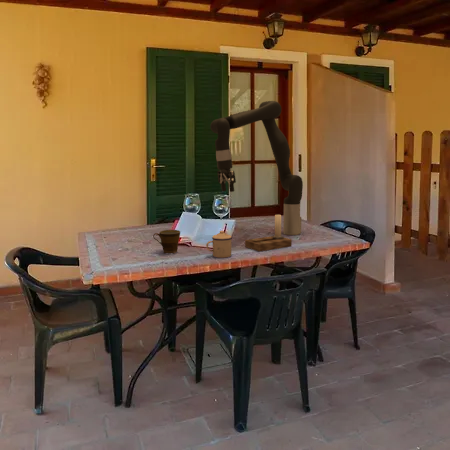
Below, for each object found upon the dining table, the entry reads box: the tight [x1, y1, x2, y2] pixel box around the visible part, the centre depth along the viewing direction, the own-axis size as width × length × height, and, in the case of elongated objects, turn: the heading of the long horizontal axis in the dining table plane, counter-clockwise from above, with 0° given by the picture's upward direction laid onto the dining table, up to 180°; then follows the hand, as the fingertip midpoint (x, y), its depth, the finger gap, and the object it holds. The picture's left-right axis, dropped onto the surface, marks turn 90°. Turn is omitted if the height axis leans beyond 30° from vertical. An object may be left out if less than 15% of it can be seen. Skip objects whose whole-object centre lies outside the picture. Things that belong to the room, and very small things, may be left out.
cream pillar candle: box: [271, 214, 285, 239], centre depth 233 cm, size 4×4×14 cm
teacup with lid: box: [205, 230, 233, 259], centre depth 214 cm, size 12×9×12 cm
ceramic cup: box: [152, 229, 181, 254], centre depth 222 cm, size 13×10×10 cm
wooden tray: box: [244, 235, 293, 253], centre depth 232 cm, size 20×12×4 cm, turn 122°
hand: (228, 191), depth 235 cm, fingers open, 8 cm apart
